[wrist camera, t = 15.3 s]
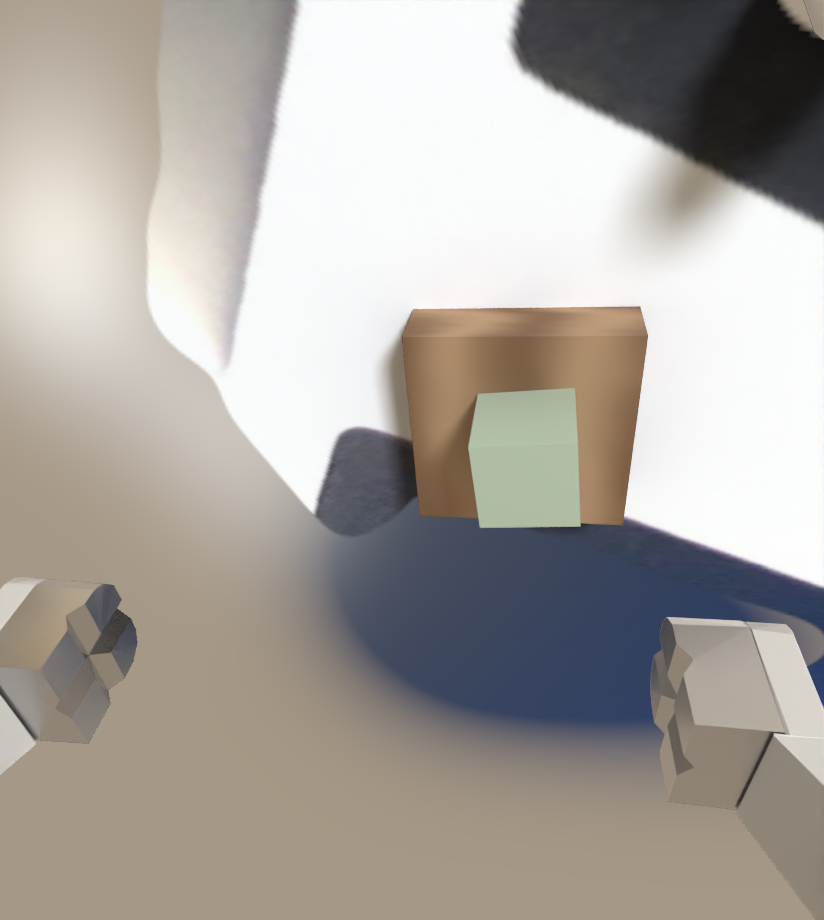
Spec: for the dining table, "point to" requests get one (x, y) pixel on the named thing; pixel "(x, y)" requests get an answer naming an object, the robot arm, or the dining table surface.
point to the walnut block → (524, 369)
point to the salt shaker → (816, 15)
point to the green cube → (526, 459)
